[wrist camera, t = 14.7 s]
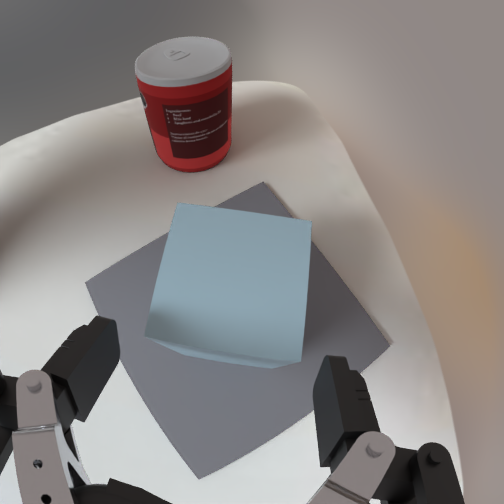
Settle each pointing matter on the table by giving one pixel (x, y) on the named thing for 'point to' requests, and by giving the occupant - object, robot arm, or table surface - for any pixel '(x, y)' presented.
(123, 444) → the table surface
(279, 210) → the mat
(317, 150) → the table surface
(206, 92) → the canned food
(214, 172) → the table surface
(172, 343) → the light blue tall box
